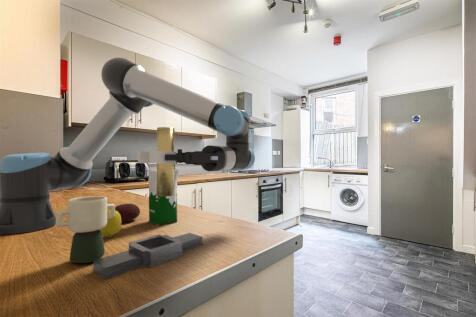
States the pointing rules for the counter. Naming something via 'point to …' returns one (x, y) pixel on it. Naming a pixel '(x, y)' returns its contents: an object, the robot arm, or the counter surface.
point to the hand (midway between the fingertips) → (144, 157)
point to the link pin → (165, 169)
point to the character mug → (86, 226)
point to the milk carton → (162, 201)
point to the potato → (128, 212)
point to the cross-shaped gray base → (146, 254)
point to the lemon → (112, 224)
